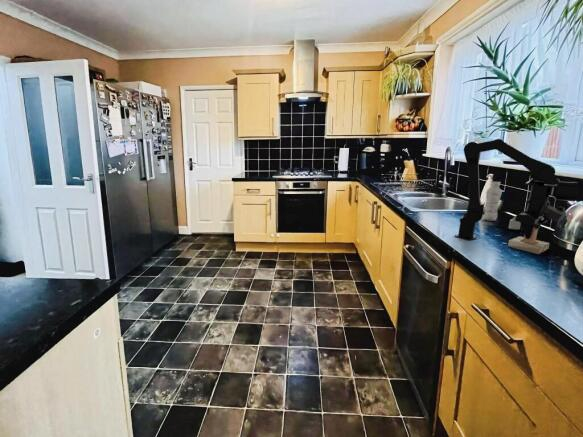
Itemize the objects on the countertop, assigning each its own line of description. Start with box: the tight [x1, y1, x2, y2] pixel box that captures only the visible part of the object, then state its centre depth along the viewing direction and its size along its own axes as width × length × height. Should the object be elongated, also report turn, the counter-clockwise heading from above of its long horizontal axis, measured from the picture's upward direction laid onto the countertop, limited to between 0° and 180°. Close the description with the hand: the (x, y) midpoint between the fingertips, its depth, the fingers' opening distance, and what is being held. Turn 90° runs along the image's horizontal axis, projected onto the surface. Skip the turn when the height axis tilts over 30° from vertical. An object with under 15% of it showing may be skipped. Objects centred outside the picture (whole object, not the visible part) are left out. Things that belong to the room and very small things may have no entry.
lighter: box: [508, 217, 521, 230], centre depth 149 cm, size 7×2×8 cm, turn 78°
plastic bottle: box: [482, 181, 503, 222], centre depth 163 cm, size 6×7×20 cm
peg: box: [523, 228, 539, 244], centre depth 123 cm, size 3×3×8 cm
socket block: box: [507, 236, 550, 255], centre depth 123 cm, size 10×10×2 cm
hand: (529, 237), depth 123 cm, fingers open, 4 cm apart
